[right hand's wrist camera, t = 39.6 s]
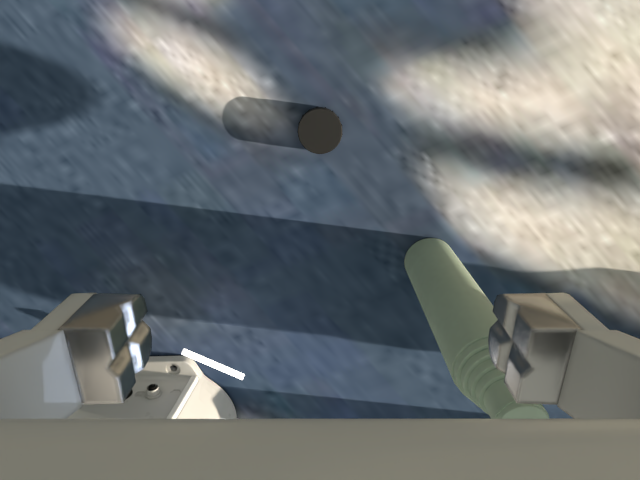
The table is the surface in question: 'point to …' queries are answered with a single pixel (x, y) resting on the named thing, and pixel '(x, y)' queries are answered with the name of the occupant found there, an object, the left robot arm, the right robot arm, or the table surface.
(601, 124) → the table surface
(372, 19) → the table surface
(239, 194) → the table surface
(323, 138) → the cap
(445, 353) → the bottle
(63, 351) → the right robot arm
